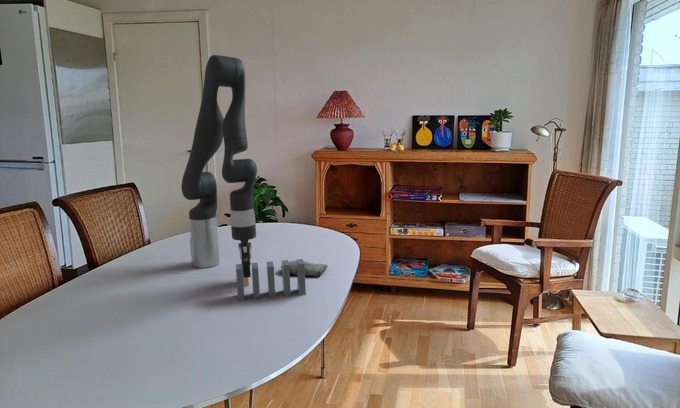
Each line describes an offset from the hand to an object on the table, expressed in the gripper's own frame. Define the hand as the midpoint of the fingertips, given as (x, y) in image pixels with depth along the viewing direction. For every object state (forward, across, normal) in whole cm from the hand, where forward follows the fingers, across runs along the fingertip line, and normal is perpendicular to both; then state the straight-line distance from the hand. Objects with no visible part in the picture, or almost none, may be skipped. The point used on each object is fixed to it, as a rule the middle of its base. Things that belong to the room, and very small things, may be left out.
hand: (246, 273), depth 160 cm
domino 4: (+4, -12, -7) cm, 14 cm away
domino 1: (+4, -12, +2) cm, 13 cm away
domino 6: (+4, -12, -16) cm, 20 cm away
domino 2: (+3, 0, 0) cm, 3 cm away
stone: (+4, +7, -19) cm, 20 cm away
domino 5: (+4, -12, -11) cm, 17 cm away
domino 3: (+4, -12, -2) cm, 13 cm away
